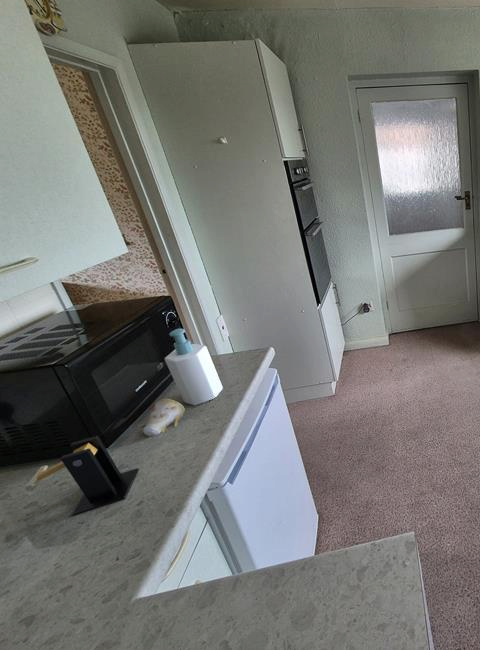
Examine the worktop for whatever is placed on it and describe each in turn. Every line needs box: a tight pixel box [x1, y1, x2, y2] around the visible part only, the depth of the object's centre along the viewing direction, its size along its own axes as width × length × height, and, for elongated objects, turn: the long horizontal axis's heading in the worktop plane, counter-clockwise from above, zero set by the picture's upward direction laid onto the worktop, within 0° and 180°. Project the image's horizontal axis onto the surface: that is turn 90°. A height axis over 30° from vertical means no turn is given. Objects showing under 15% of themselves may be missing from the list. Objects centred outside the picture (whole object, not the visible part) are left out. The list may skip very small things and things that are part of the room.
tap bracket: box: [60, 435, 140, 517], centre depth 81 cm, size 9×9×14 cm
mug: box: [142, 398, 186, 437], centre depth 103 cm, size 8×10×10 cm
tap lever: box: [24, 443, 97, 492], centre depth 78 cm, size 11×6×2 cm, turn 112°
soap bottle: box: [164, 328, 224, 406], centre depth 111 cm, size 10×9×22 cm
